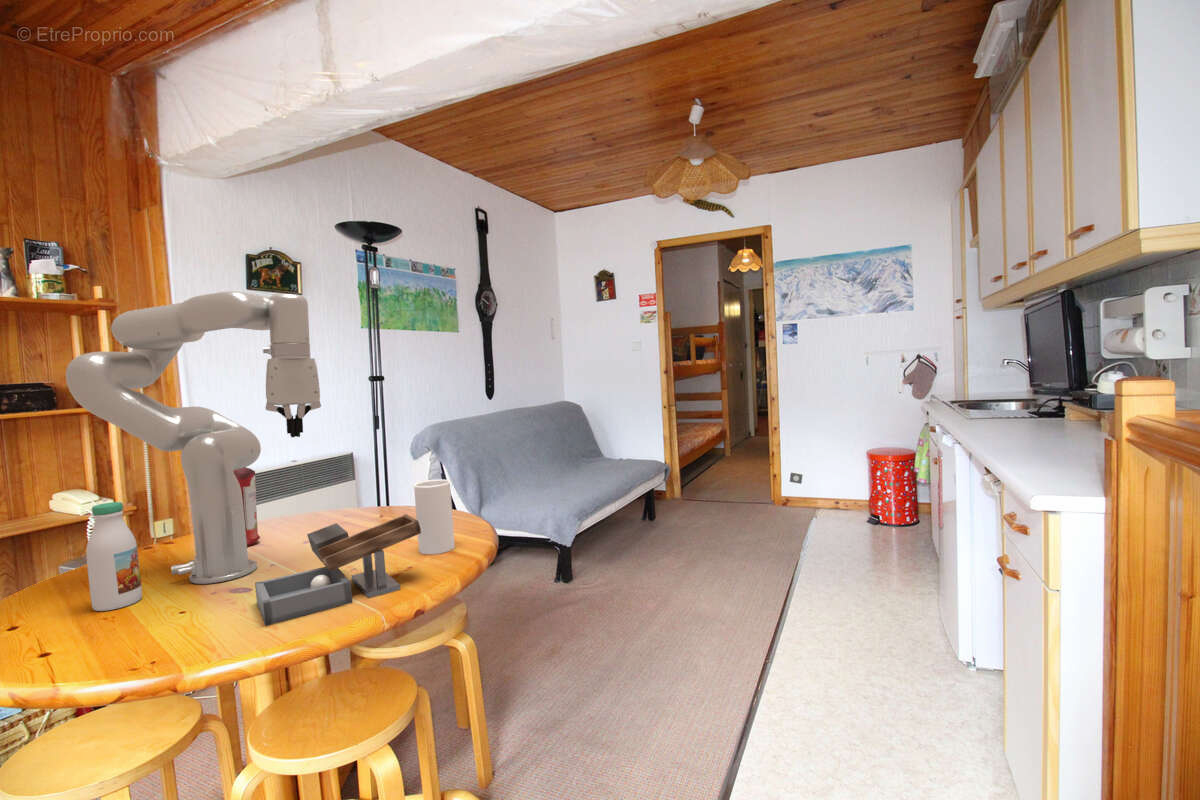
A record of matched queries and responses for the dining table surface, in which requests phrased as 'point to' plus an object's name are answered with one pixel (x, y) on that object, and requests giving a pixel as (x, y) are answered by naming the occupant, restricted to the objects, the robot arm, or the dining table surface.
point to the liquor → (248, 503)
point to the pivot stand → (375, 577)
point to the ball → (320, 581)
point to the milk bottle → (112, 560)
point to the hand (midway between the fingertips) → (295, 436)
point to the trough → (359, 541)
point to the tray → (301, 595)
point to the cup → (434, 516)
